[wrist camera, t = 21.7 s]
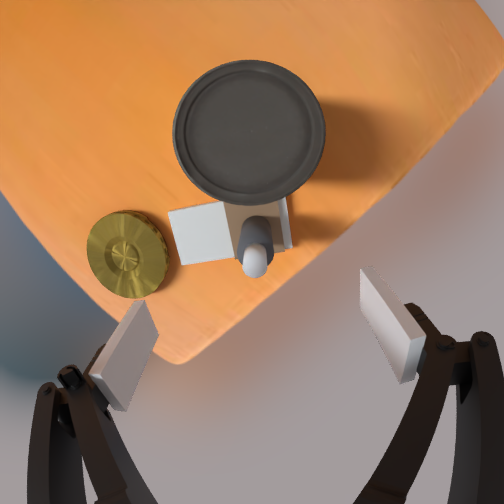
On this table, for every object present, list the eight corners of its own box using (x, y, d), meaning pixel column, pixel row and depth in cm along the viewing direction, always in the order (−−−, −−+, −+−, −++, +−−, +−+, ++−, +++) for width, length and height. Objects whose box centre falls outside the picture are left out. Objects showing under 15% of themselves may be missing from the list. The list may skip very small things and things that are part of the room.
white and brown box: (170, 210, 33) (165, 214, 32) (283, 189, 32) (285, 191, 30) (183, 262, 36) (180, 267, 34) (291, 244, 35) (293, 250, 33)
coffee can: (268, 81, 27) (276, 36, 14) (312, 156, 31) (351, 163, 17) (191, 124, 29) (145, 110, 16) (235, 197, 33) (220, 233, 19)
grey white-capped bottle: (239, 217, 32) (230, 250, 22) (268, 213, 31) (272, 244, 22) (244, 245, 33) (238, 287, 24) (273, 241, 33) (278, 282, 23)
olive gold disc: (142, 193, 33) (135, 196, 31) (186, 272, 37) (182, 280, 35) (81, 233, 35) (73, 238, 33) (122, 301, 39) (116, 308, 37)
